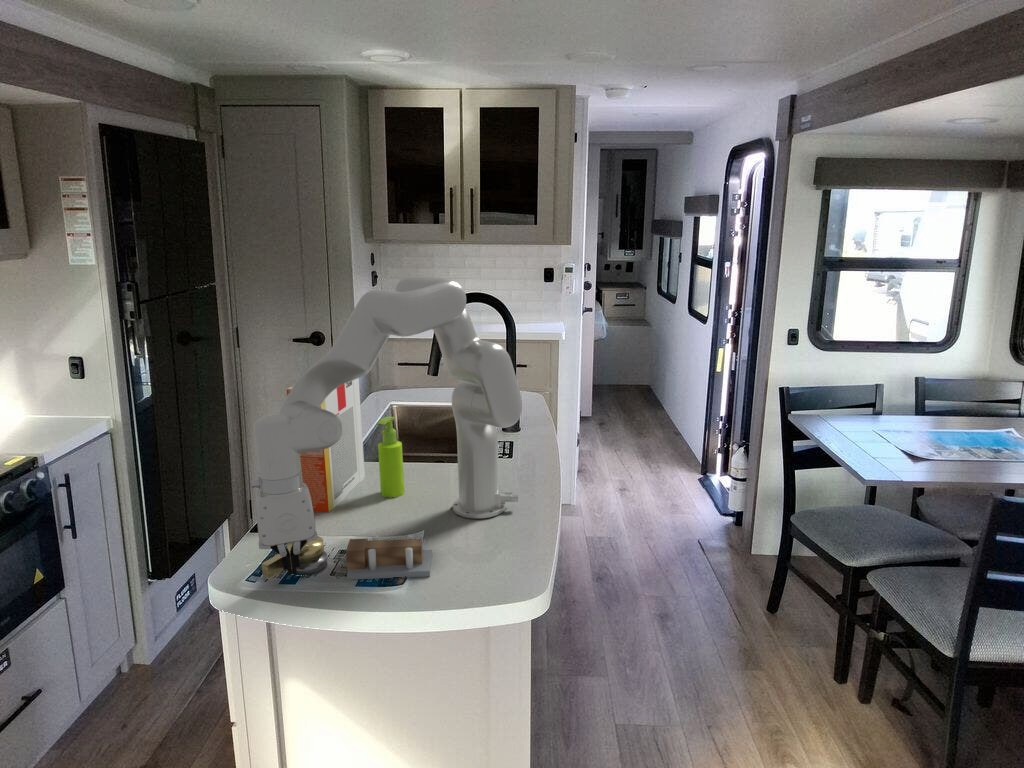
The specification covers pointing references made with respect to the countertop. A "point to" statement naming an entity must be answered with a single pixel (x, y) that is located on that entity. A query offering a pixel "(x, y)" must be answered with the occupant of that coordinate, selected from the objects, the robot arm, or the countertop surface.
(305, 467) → the orange cereal box
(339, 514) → the countertop surface
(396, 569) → the rack
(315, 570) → the base
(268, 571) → the gold lever handle
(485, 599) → the countertop surface
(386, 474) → the soap dispenser
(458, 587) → the countertop surface
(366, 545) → the tan wooden bar
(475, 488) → the robot arm
